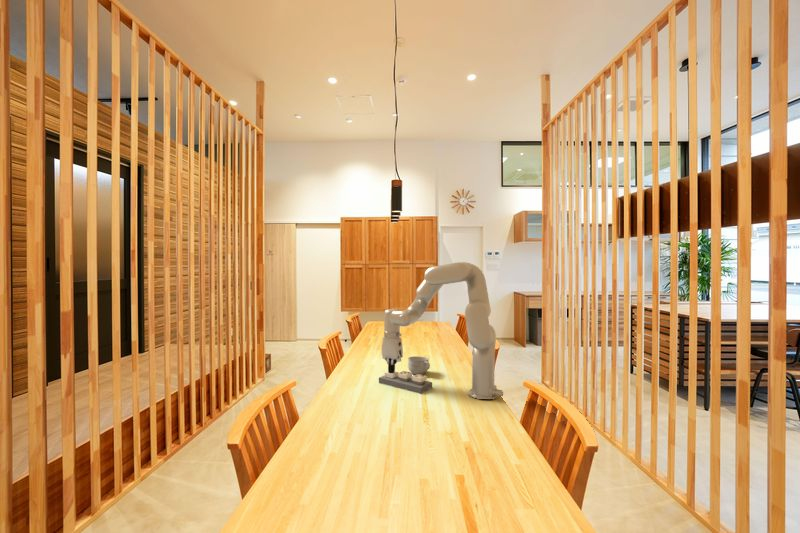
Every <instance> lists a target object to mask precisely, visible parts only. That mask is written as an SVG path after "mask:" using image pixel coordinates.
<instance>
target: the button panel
mask: <svg viewBox="0 0 800 533" xmlns="http://www.w3.org/2000/svg"><path fill="white" fill-rule="evenodd" d="M378 383H379V384H381V385H382V384H383V385H385V386H388V387H389V386H390V387H394V388H397V389H401V390H406V391H409V392H412V393H417V394H420V395H421V394H422V393H424V392H426V391H428V390H430V389H432V388H433V381H428V380H425V381H424V384H423V385H417V384H414V381H413V380H412V377H410V380H409V381H407V382H404V381H400V377H398V376H397V377H395V378H393V379H392V378H388V377H385V374H384V375H382V376H380V377H378Z"/></svg>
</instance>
